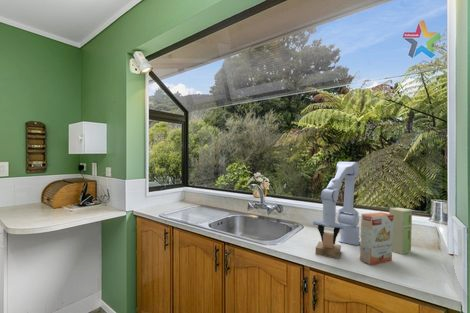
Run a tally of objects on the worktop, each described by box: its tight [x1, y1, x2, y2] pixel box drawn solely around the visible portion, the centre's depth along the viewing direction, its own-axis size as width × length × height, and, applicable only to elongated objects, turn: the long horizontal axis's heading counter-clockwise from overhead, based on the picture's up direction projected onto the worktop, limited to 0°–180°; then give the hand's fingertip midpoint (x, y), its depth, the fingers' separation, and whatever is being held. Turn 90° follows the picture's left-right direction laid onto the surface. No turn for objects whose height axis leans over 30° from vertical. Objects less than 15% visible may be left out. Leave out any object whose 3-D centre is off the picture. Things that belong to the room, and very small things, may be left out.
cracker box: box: [359, 211, 394, 266], centre depth 107 cm, size 14×6×21 cm, turn 114°
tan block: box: [323, 231, 334, 249], centre depth 115 cm, size 5×5×6 cm
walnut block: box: [315, 240, 342, 259], centre depth 115 cm, size 10×10×3 cm
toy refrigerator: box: [388, 207, 413, 255], centre depth 119 cm, size 8×7×21 cm
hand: (328, 242), depth 115 cm, fingers closed on tan block, 4 cm apart
